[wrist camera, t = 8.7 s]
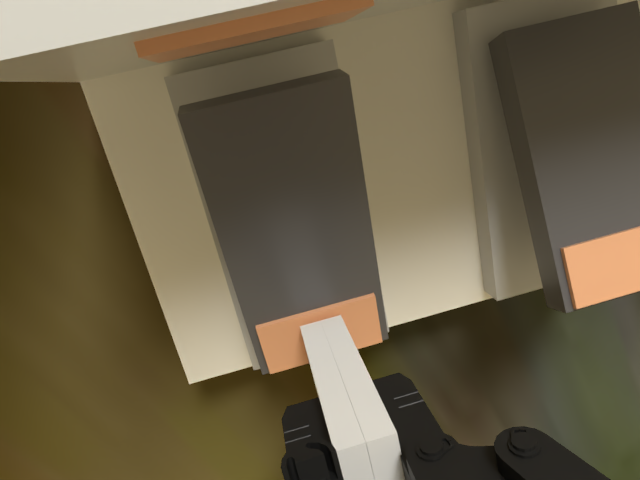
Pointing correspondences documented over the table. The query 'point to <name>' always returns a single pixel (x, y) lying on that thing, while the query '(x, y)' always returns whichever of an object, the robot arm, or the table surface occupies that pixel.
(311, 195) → the switch
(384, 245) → the switch unit
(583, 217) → the switch
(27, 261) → the table surface
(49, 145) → the table surface
